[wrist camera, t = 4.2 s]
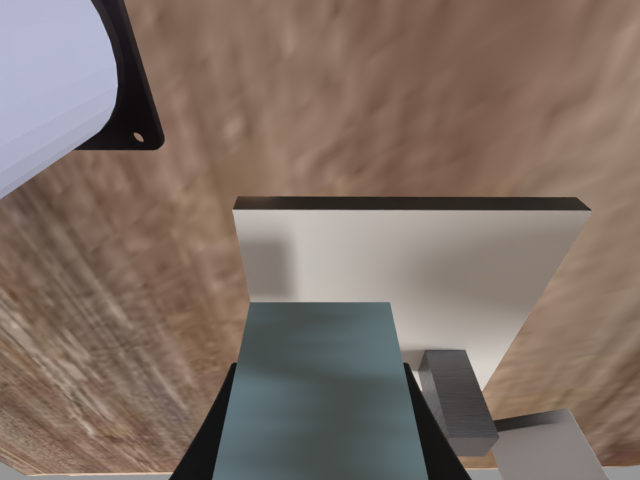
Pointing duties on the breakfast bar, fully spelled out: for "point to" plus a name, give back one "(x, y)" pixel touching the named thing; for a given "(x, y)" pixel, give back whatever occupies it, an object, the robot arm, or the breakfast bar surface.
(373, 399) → the teal brushed cube
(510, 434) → the milk carton
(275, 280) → the base board
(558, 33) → the breakfast bar surface
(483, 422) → the metal post
